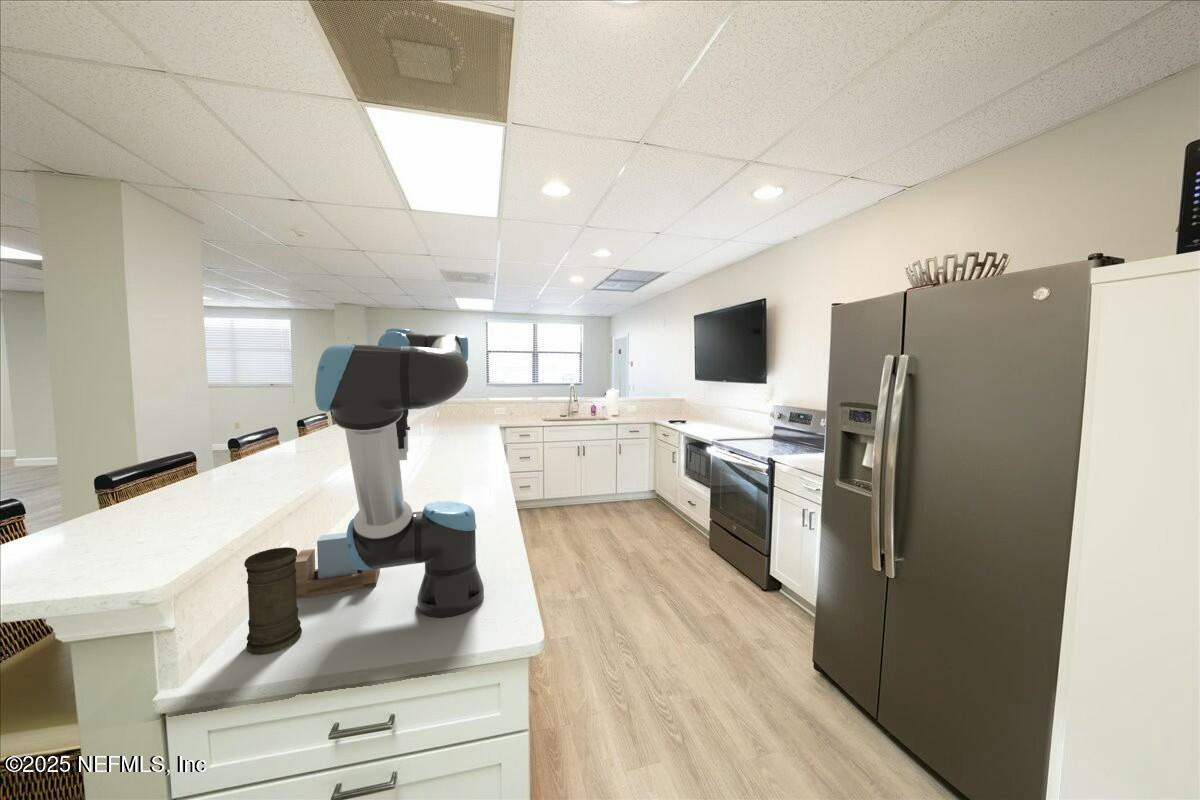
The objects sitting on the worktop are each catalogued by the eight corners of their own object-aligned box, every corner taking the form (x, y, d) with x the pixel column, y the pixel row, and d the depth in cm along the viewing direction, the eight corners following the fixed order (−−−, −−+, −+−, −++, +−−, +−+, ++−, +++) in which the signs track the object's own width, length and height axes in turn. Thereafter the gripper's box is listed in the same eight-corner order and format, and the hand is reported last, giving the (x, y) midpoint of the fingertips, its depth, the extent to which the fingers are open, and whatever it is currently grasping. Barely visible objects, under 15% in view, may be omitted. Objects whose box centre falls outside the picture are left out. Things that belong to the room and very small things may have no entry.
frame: (375, 586, 107) (375, 551, 107) (292, 599, 101) (291, 562, 100) (379, 572, 115) (379, 540, 114) (302, 584, 108) (301, 550, 108)
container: (291, 651, 82) (288, 561, 81) (236, 659, 79) (232, 567, 78) (309, 625, 90) (306, 543, 89) (259, 632, 88) (256, 548, 87)
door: (355, 582, 107) (353, 536, 107) (318, 587, 104) (317, 541, 104) (357, 575, 111) (356, 531, 110) (322, 580, 108) (321, 535, 107)
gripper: (414, 383, 110) (416, 462, 111) (415, 382, 133) (416, 448, 134) (383, 383, 107) (384, 465, 108) (389, 382, 130) (390, 449, 131)
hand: (402, 456), depth 121 cm, fingers open, 13 cm apart
